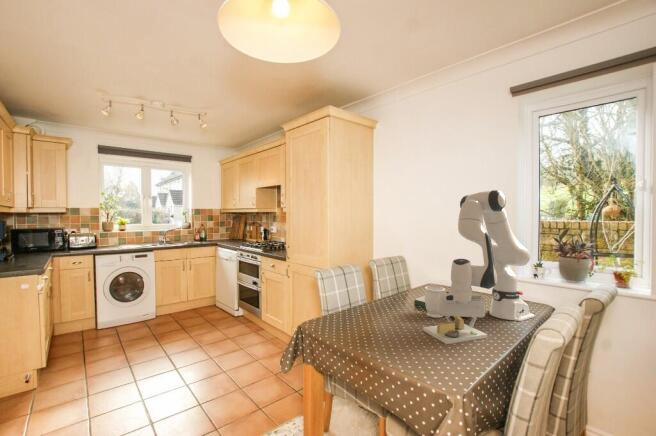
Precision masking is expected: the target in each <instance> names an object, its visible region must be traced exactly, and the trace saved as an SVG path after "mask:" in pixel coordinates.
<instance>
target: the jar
mask: <svg viewBox="0 0 656 436" xmlns="http://www.w3.org/2000/svg"><path fill="white" fill-rule="evenodd" d="M424 290H425V293H424V303H425V309H426V316H428V317H430V318H434V319H440V318H442V317H444V316H440V315H439V314H438V312H437V306H438V300H439V299H440V298H441V297H440V293H441V292H444V291H446V287H442V286H439V285H438V286H437V285H428V286H425V287H424Z"/></svg>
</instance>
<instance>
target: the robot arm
mask: <svg viewBox="0 0 656 436" xmlns="http://www.w3.org/2000/svg"><path fill="white" fill-rule="evenodd" d="M506 204H507V200H506V195H505V194H504V193H503V192H502V191H501V190H487V191H479V192H476V193H471V194H467V195H464V196H462V198H461V200H460V201H459V207H460V209H459V215H458V222H457V226H458V227H457V229H458V232H459V234H460V236H461V237H463V238H464V239H465V240H468V241H469V242H472V243H475V244H477V245H479V246H480V248H481V249H482V256H483V257H482V258H483V265H473V264H472V263H471V261H470V260H469V259H466V258H457V259H456V258H455V259H453V260H452V263H451V268H450V281H451V284H450V289H448V290H445V291H444V292H441V293H440V297H441V298H440V299H439V300H438V306H437V312H438V314H439V315H440V316H443V317H445V319H446V320H447V321H446V322H452V320H450V318H451V317H454V316H460V317H461V318H462V317H464V318H465V317H466V318H467V317H468V318H472V319H471V321H468V326H470V327H472V328H475V323H476V321H477V319H478V318H484V317H485V316H486V308H485V305H486V300H485V299H486V298H485V297H483V296H482V295H473V292H472V291H473V290H472V289H473V288H472V287H479V288H481V289H482V288H483V289H487V290H490V289H491V292H492V293H491V294H492V297H491V302H490V308H489V310H488V311H489V315H491V316H492V317H495V318H498V319H502V320H509V321H516V322H523V321H525V320H530V319H533V318H535V314H533V313H531V312H530V306H529V305H528V303H526V302H525V301H524V300H523V299H521V297H520V296H523V294H524V292H523V291H522V290H521V291H520V290H518V276H517V275H516V273H515V272H513V270H512V268H511V266H512V267H522V266H526V265H527V264H528V263H530V259H531V253H530V251H529V250H528V249H527V248H526V247H525V246H523V245H522V244H521V243H520V242H519V240H518V239H517V237H516V236H515V234H514V233H513V231H512V228H511V225H510V221H509V218H508V214H507V212H506V209H505V206H506ZM484 226H485V228H484ZM485 229H486V230H485ZM491 239H492V240H493V241H494V242H492V240H491Z"/></svg>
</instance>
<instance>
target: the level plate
mask: <svg viewBox="0 0 656 436" xmlns="http://www.w3.org/2000/svg"><path fill="white" fill-rule="evenodd" d="M455 330H457V331H458V332H459V337H457V338H452V337H448V336H445V335H444V334H438V333H437V324H436V325H431V326H423V327H422V331H424V332H425V333H427V334H428V335H430V336H431V337H433V338H435V339H436V340H439V341H440V342H442V343H444V344H446V345H451V344H452V345H453V344H457V343H463V342H470V341H476V340H482V339H487V338H488V333H486V332H483V331H481V330H479V329H476V328H475V327H471V326H469V324H467V323H466V324H465V323H464V329H455Z"/></svg>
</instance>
